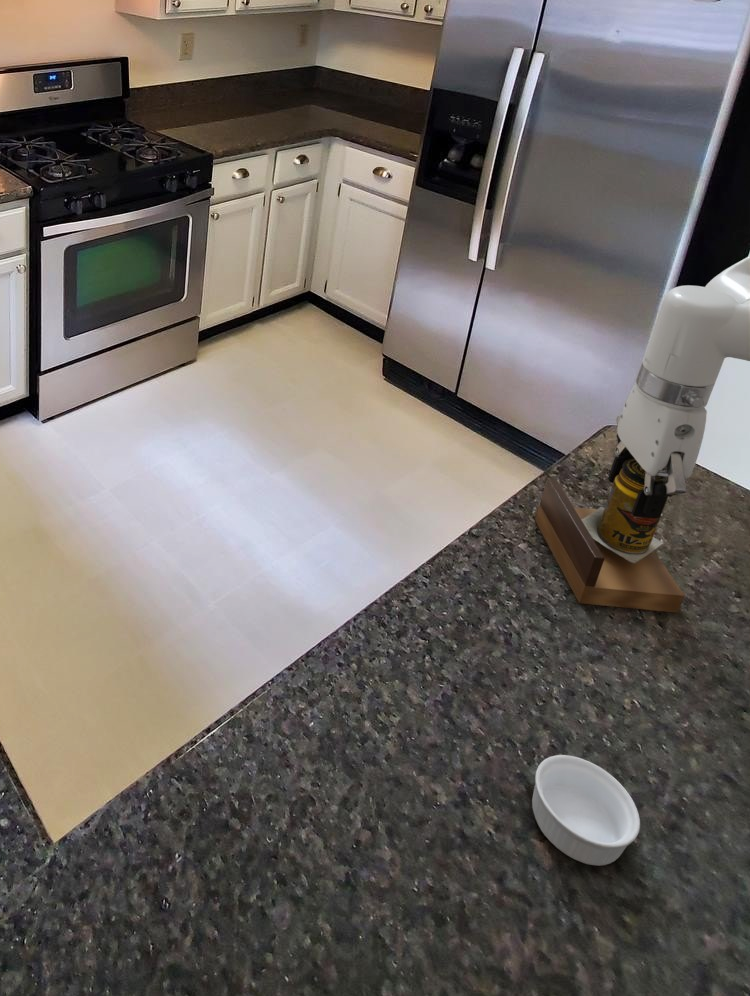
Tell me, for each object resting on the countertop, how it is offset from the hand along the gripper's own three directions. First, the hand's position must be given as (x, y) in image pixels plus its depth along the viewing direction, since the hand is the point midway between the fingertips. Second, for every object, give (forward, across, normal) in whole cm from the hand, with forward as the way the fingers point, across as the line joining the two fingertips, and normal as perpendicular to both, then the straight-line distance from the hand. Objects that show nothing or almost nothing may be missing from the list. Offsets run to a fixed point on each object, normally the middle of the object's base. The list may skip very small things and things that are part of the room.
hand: (632, 497), depth 106 cm
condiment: (+7, +1, 0) cm, 7 cm away
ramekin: (+12, -38, +19) cm, 44 cm away
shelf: (+12, 0, +1) cm, 12 cm away
